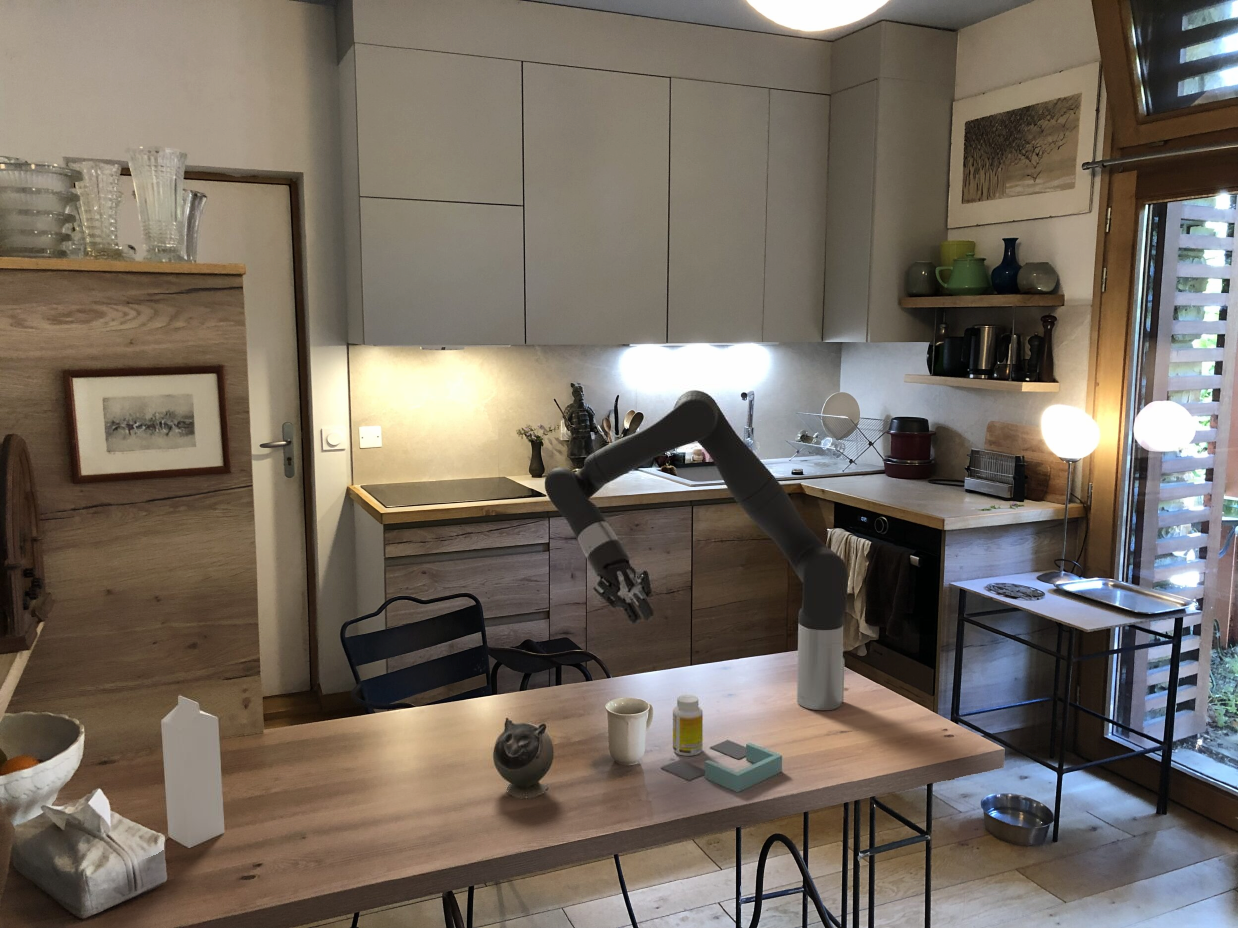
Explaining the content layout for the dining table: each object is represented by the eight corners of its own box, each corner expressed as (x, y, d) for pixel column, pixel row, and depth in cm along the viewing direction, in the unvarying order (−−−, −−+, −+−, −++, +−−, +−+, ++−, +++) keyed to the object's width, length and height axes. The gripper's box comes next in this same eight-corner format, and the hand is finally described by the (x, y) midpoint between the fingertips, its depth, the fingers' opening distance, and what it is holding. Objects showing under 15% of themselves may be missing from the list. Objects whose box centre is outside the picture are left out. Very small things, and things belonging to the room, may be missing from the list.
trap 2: (727, 740, 186) (727, 739, 186) (755, 751, 181) (755, 750, 181) (709, 747, 183) (709, 746, 183) (738, 759, 177) (738, 758, 177)
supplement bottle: (708, 751, 181) (709, 698, 180) (686, 759, 177) (687, 706, 176) (688, 742, 185) (688, 690, 184) (666, 749, 182) (666, 697, 180)
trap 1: (680, 760, 177) (680, 759, 177) (708, 772, 172) (708, 771, 172) (660, 768, 174) (660, 767, 174) (688, 781, 169) (688, 779, 169)
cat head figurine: (490, 804, 161) (552, 802, 161) (487, 735, 160) (550, 733, 159) (499, 777, 171) (557, 775, 171) (495, 712, 170) (554, 710, 169)
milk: (204, 822, 155) (196, 689, 153) (225, 833, 152) (218, 697, 149) (167, 837, 150) (159, 700, 148) (188, 849, 147) (180, 708, 144)
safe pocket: (749, 758, 178) (749, 742, 178) (781, 771, 172) (782, 755, 172) (704, 777, 170) (705, 761, 170) (737, 792, 164) (737, 775, 164)
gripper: (584, 543, 191) (626, 616, 183) (636, 533, 200) (678, 602, 193) (568, 565, 195) (608, 637, 188) (619, 554, 205) (660, 623, 197)
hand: (643, 619), depth 190 cm, fingers open, 3 cm apart
